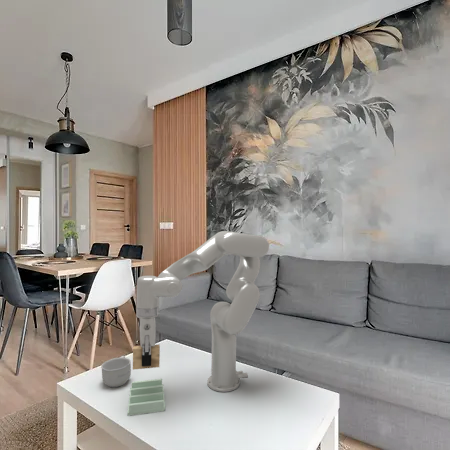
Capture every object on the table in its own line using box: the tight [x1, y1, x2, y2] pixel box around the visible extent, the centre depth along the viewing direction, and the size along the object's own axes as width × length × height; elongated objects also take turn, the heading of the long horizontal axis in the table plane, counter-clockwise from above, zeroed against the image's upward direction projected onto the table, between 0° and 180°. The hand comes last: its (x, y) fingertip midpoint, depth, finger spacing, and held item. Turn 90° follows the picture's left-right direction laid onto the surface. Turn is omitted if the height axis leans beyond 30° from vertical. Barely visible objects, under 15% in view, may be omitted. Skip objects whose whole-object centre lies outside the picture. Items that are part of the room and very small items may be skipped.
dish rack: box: [127, 378, 166, 417], centre depth 109 cm, size 12×16×3 cm
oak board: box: [132, 344, 161, 370], centre depth 109 cm, size 9×3×7 cm, turn 104°
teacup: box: [100, 355, 132, 388], centre depth 122 cm, size 14×11×8 cm
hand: (146, 363), depth 109 cm, fingers closed on oak board, 2 cm apart
